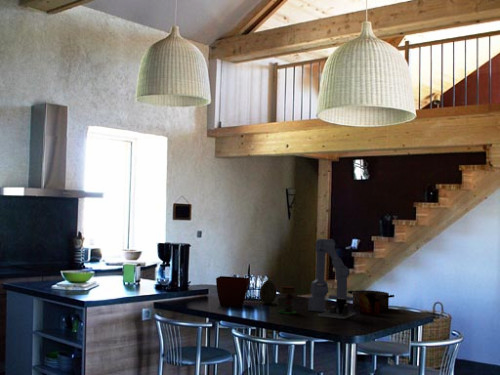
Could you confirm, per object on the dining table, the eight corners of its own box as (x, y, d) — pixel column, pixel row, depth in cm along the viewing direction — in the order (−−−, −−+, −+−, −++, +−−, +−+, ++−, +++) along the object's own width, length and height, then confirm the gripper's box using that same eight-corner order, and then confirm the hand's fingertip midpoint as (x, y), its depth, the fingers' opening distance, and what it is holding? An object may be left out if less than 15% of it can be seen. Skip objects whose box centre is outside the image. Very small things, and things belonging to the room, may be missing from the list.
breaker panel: (318, 316, 363) (318, 312, 364) (330, 311, 383) (330, 308, 383) (345, 318, 357) (345, 315, 357) (356, 314, 376) (356, 310, 377)
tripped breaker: (329, 314, 363) (330, 306, 363) (331, 313, 366) (332, 306, 366) (333, 314, 362) (334, 307, 362) (336, 313, 365) (336, 306, 365)
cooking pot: (340, 308, 401) (341, 291, 402) (355, 305, 420) (356, 288, 420) (386, 314, 385) (386, 296, 385) (399, 310, 403) (400, 293, 404)
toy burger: (301, 312, 374) (302, 287, 375) (291, 314, 364) (291, 288, 365) (284, 310, 381) (285, 285, 382) (273, 312, 371) (274, 286, 371)
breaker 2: (342, 312, 374) (342, 304, 374) (344, 311, 378) (344, 304, 378) (346, 312, 373) (346, 305, 373) (348, 311, 377) (348, 304, 377)
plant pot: (249, 304, 402) (250, 277, 403) (245, 308, 383) (247, 280, 384) (219, 302, 404) (220, 275, 405) (214, 306, 385) (215, 278, 386)
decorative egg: (270, 305, 401) (271, 281, 402) (256, 303, 407) (257, 279, 407) (279, 303, 410) (280, 280, 411) (264, 301, 416) (265, 278, 417)
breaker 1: (338, 313, 368) (338, 306, 368) (340, 312, 371) (340, 305, 372) (342, 313, 367) (342, 306, 367) (344, 313, 370) (344, 305, 370)
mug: (378, 316, 372) (379, 295, 373) (356, 313, 380) (357, 293, 380) (384, 314, 380) (385, 294, 380) (363, 312, 388) (363, 292, 388)
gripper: (327, 288, 362) (326, 312, 361) (352, 290, 356) (351, 314, 355) (331, 287, 369) (330, 310, 368) (355, 289, 362) (354, 313, 362)
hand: (340, 312), depth 362 cm, fingers closed
